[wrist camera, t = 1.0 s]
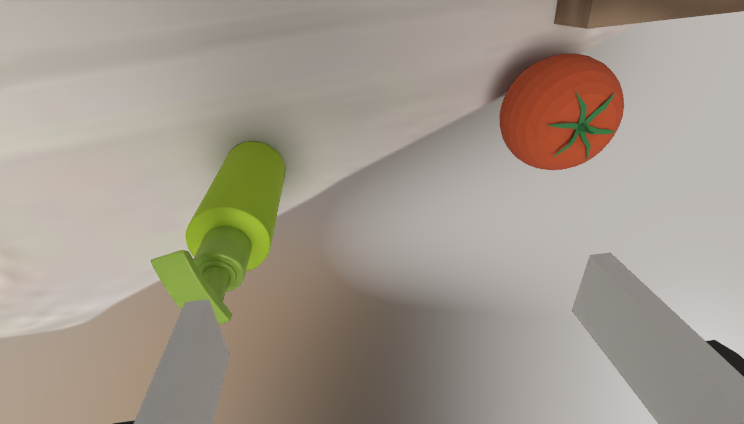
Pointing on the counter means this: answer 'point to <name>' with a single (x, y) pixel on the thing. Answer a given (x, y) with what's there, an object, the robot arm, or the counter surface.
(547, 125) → the tomato
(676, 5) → the walnut box
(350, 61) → the counter surface
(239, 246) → the soap dispenser
